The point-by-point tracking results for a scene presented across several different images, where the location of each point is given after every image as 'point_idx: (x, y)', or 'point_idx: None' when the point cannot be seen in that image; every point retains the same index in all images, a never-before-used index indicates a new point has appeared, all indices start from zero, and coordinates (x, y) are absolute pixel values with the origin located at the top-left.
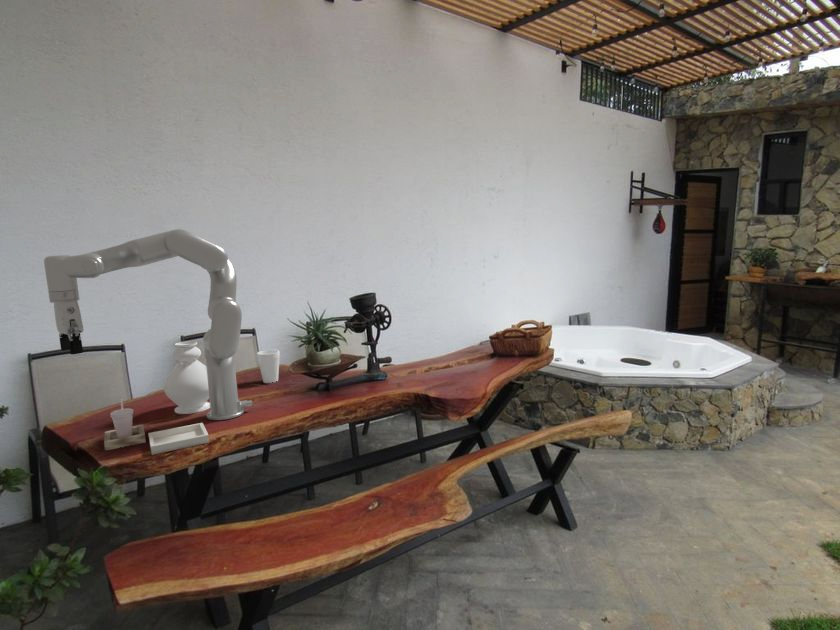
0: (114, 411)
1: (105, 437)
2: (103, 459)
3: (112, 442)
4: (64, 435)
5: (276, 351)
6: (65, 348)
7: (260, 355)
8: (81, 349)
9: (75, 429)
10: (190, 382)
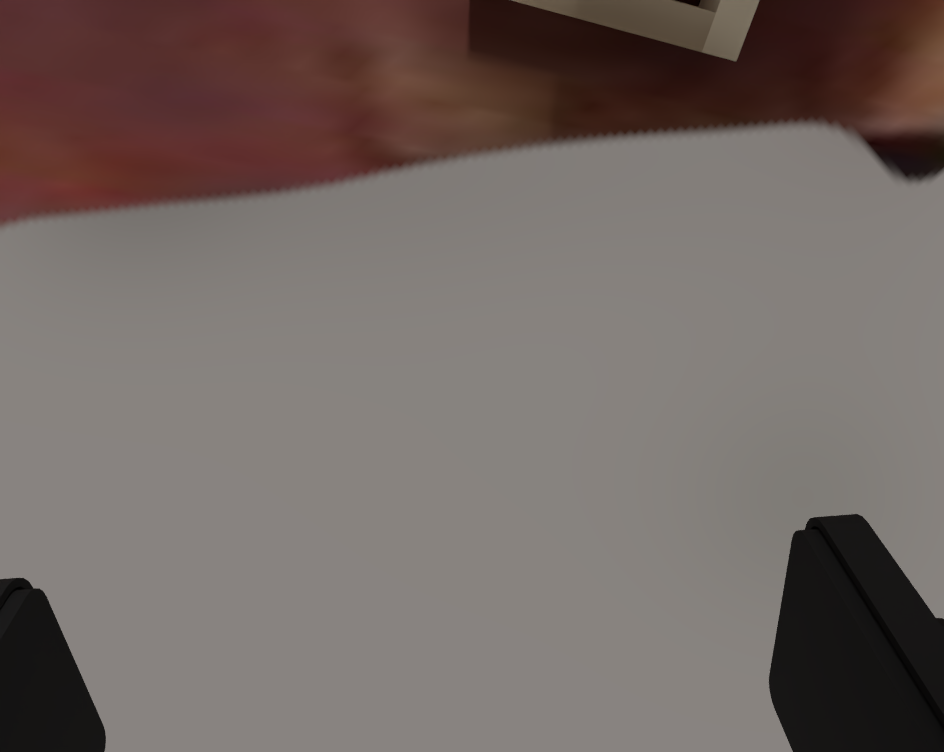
0: None
1: (625, 23)
2: (865, 101)
3: (754, 4)
4: (149, 194)
5: None
6: (72, 723)
7: None
8: (893, 586)
9: (44, 109)
10: None
